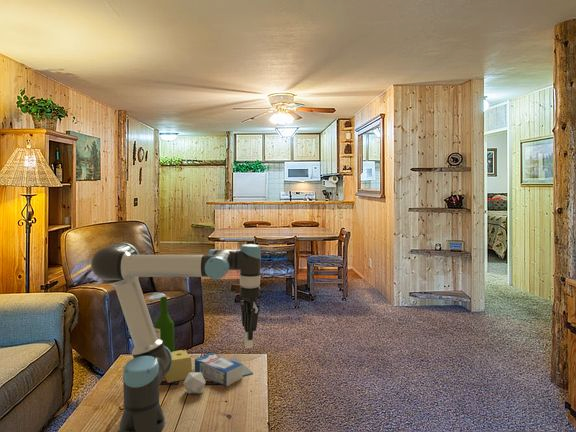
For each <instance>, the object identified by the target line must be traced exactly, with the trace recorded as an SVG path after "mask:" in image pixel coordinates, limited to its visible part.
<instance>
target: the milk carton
mask: <svg viewBox="0 0 576 432" xmlns="http://www.w3.org/2000/svg"><path fill="white" fill-rule="evenodd" d="M229 359H230V358H227V357H224V356H221V355H218V354H216V353H214V352H209V353H206V354H204V355H202V356H200V357H197V358H195V359H194V372H201V373H202V375H203V377H204V378H205V379H209V380H211V381H213V380H214V381H217V383H218V384H220V385H223V386H224V387H228V386H230V385H232V384H234V383H236V382H238V381H240V380H241V379H243V376H242V371H243V365H242V364H243V363H242V364H240V363H237V362H235V361H232V360H229ZM214 381H213V382H214ZM217 383H216V384H217Z"/></svg>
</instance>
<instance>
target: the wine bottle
mask: <svg viewBox="0 0 576 432" xmlns="http://www.w3.org/2000/svg"><path fill="white" fill-rule="evenodd" d="M159 300H160V303H159V305H160V313H159V316H158V317H157V319H156V321H155V323H154V325H153V326H154V329H155V333H156V336H157V338H158V339H161V340H162V341H163V344H164V346H165V347H167V348H168V349H169V350H170V352H174V351H176V350H175V343H176V342H175V323H174V321H173V319H172V318H171V316H170V315H169V312H168V297H167V296H162V297H160V299H159Z"/></svg>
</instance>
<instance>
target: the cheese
mask: <svg viewBox="0 0 576 432" xmlns="http://www.w3.org/2000/svg"><path fill="white" fill-rule="evenodd" d="M171 355H172V364H171V367H170V370H169V371H168V373H167V374H166V375H165V377H164V378H165V379H166V382H167V384H170V383H174V381H175V382H179V381H185V379H186V377H187V376H188V374H189V373H190V372H192V369H193V366H192V360H191V356H190V355H189V353H188V352H187V349H180V350H175V351H174V352H171Z"/></svg>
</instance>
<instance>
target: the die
mask: <svg viewBox="0 0 576 432" xmlns="http://www.w3.org/2000/svg"><path fill="white" fill-rule="evenodd" d="M205 385H206V380H205V377H204V376H203V375H202V373H201V372H195V371H194V372H190V373H189V374H188V376H187V377H186V379H185V380H183V386H184V389H185V390H186V393H187V394H188V395H195V394H196V395H197V394H199V395H201V393H202V392H203V389H204V387H205Z"/></svg>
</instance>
